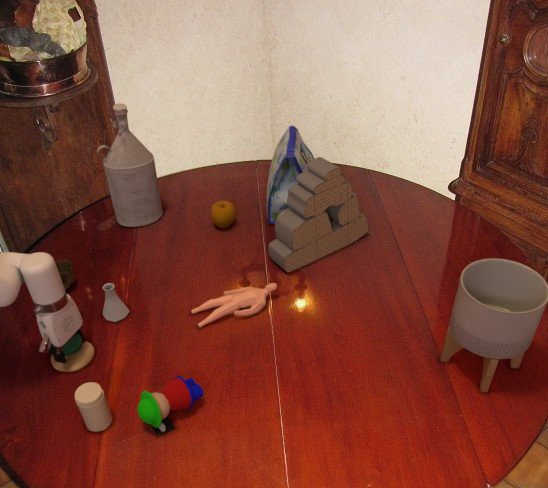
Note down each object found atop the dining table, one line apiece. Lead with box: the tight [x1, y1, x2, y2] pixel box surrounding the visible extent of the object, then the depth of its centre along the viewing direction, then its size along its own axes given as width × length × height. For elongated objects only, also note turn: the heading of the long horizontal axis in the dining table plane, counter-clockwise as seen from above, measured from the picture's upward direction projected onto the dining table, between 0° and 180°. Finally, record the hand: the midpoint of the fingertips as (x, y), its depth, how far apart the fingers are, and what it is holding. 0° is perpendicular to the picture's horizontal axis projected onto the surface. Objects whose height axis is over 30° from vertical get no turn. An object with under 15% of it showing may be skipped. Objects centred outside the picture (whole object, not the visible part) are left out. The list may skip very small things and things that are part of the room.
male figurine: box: [191, 282, 278, 329], centre depth 157 cm, size 11×5×25 cm
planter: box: [440, 257, 548, 393], centre depth 132 cm, size 19×19×26 cm
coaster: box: [50, 340, 95, 373], centre depth 146 cm, size 11×11×1 cm
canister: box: [96, 102, 164, 228], centre depth 182 cm, size 13×17×40 cm
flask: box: [102, 282, 131, 323], centre depth 155 cm, size 7×7×10 cm
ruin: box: [267, 156, 370, 273], centre depth 169 cm, size 34×10×30 cm, turn 125°
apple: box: [210, 200, 237, 229], centre depth 187 cm, size 9×8×9 cm
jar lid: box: [54, 333, 83, 356], centre depth 143 cm, size 7×7×2 cm
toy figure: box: [137, 375, 204, 437], centre depth 129 cm, size 9×10×15 cm
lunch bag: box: [266, 125, 315, 225], centre depth 188 cm, size 22×17×26 cm
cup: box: [54, 258, 75, 291], centre depth 165 cm, size 8×7×8 cm
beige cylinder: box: [74, 381, 114, 433], centre depth 127 cm, size 6×6×10 cm
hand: (70, 351), depth 145 cm, fingers closed on jar lid, 7 cm apart
